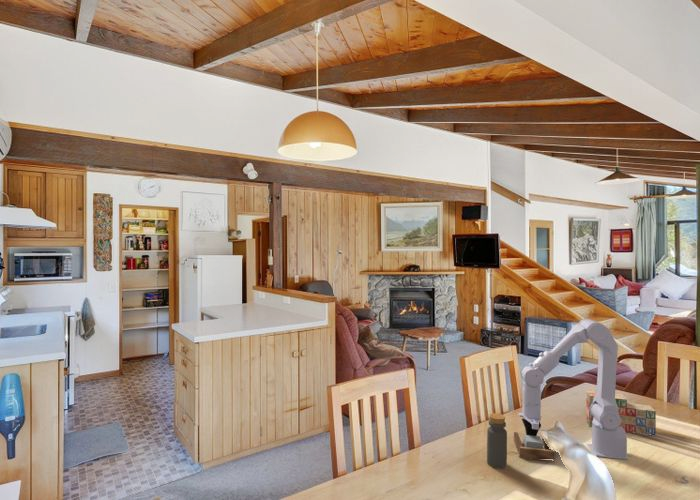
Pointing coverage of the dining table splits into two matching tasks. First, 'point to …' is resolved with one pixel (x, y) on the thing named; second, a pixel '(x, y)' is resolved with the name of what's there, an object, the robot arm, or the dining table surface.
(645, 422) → the stack of blocks
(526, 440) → the block
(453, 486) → the dining table surface
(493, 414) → the bottle
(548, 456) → the holder
